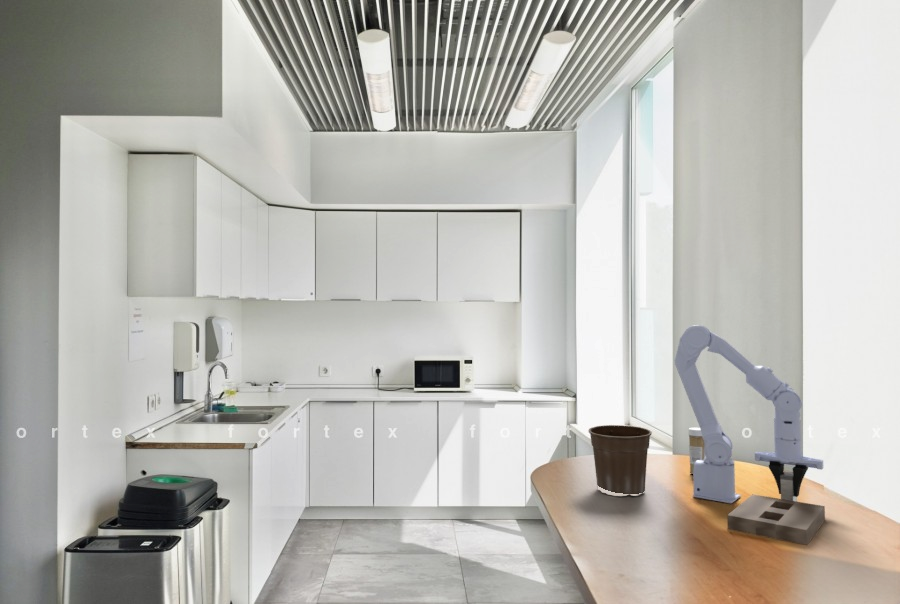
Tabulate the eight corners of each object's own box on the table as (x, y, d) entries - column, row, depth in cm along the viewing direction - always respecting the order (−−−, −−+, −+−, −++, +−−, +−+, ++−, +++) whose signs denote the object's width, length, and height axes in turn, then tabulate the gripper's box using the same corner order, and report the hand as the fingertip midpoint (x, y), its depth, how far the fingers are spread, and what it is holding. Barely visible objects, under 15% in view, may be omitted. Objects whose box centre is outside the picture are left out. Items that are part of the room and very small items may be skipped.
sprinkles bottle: (709, 475, 176) (708, 428, 177) (700, 477, 174) (699, 430, 174) (695, 472, 180) (694, 426, 181) (686, 474, 178) (685, 428, 178)
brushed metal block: (780, 503, 147) (780, 474, 147) (785, 499, 150) (784, 471, 150) (793, 506, 145) (792, 476, 145) (797, 501, 148) (796, 472, 148)
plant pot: (643, 504, 150) (642, 438, 150) (580, 494, 158) (579, 432, 159) (659, 488, 163) (658, 428, 164) (600, 480, 172) (599, 423, 172)
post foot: (727, 529, 131) (727, 515, 131) (752, 506, 146) (752, 494, 146) (806, 545, 121) (806, 530, 121) (825, 519, 137) (824, 506, 137)
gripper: (750, 437, 150) (752, 492, 149) (818, 444, 140) (820, 504, 140) (758, 433, 155) (759, 486, 154) (824, 439, 145) (825, 497, 145)
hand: (788, 494), depth 147 cm, fingers closed on brushed metal block, 3 cm apart
